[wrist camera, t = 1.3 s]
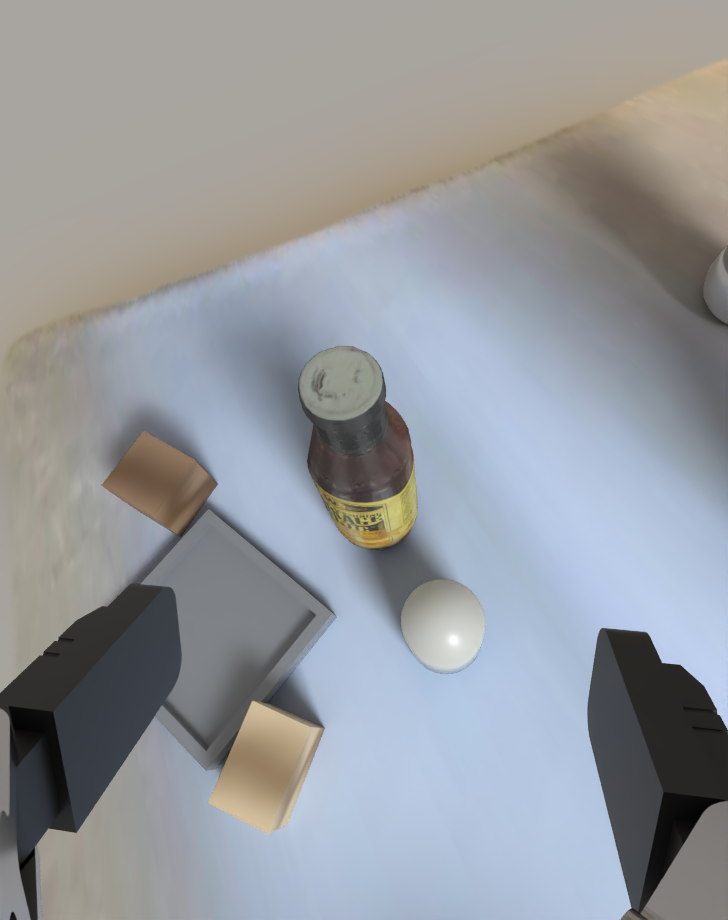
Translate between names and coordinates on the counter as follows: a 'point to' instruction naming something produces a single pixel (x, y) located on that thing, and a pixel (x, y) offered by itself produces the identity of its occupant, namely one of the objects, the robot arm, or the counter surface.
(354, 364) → the sauce bottle
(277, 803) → the oak block
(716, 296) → the plastic bottle
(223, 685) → the tray
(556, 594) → the counter surface
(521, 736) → the counter surface
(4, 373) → the counter surface
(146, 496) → the walnut block
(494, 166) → the counter surface
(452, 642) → the white rounded cylinder
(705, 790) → the robot arm
